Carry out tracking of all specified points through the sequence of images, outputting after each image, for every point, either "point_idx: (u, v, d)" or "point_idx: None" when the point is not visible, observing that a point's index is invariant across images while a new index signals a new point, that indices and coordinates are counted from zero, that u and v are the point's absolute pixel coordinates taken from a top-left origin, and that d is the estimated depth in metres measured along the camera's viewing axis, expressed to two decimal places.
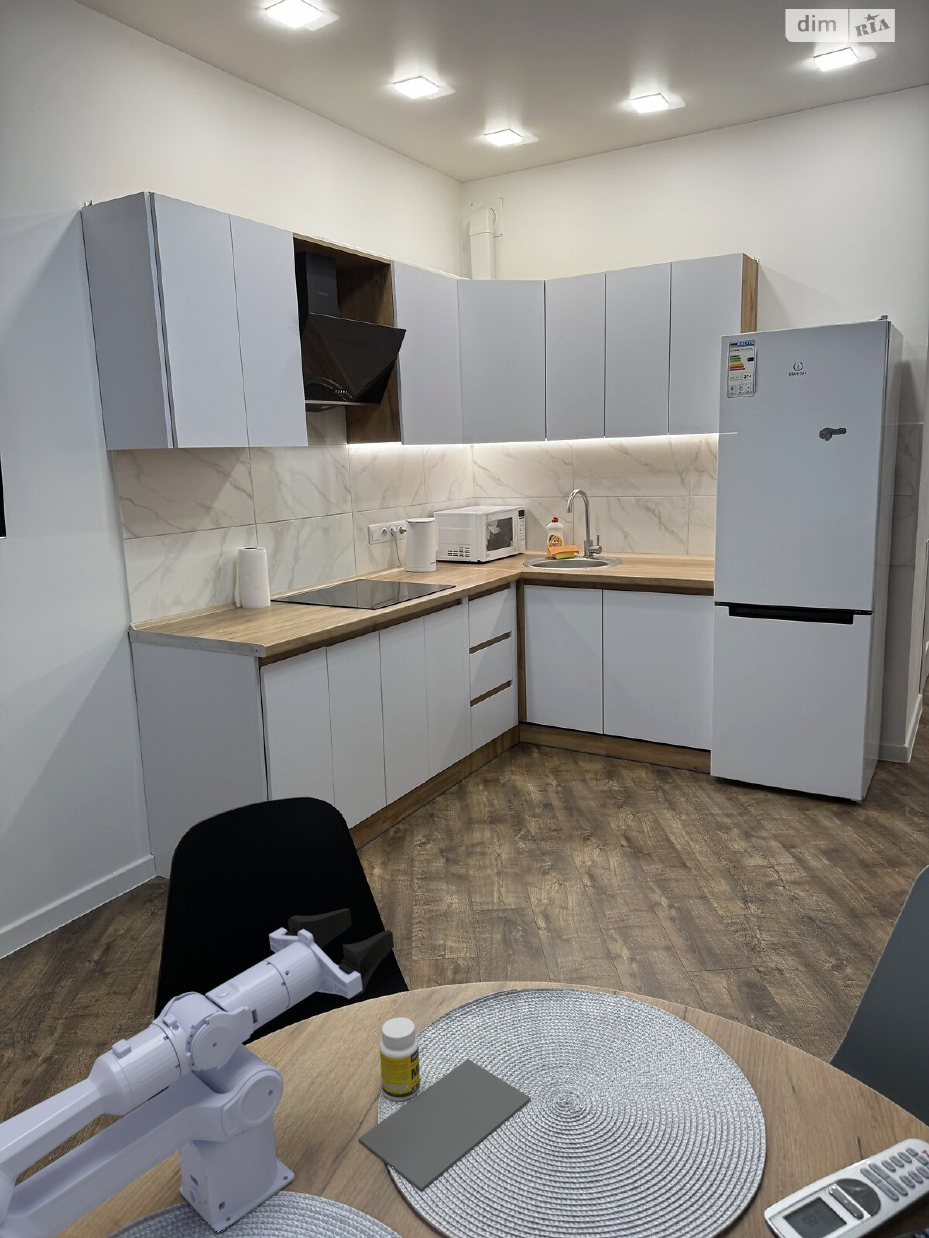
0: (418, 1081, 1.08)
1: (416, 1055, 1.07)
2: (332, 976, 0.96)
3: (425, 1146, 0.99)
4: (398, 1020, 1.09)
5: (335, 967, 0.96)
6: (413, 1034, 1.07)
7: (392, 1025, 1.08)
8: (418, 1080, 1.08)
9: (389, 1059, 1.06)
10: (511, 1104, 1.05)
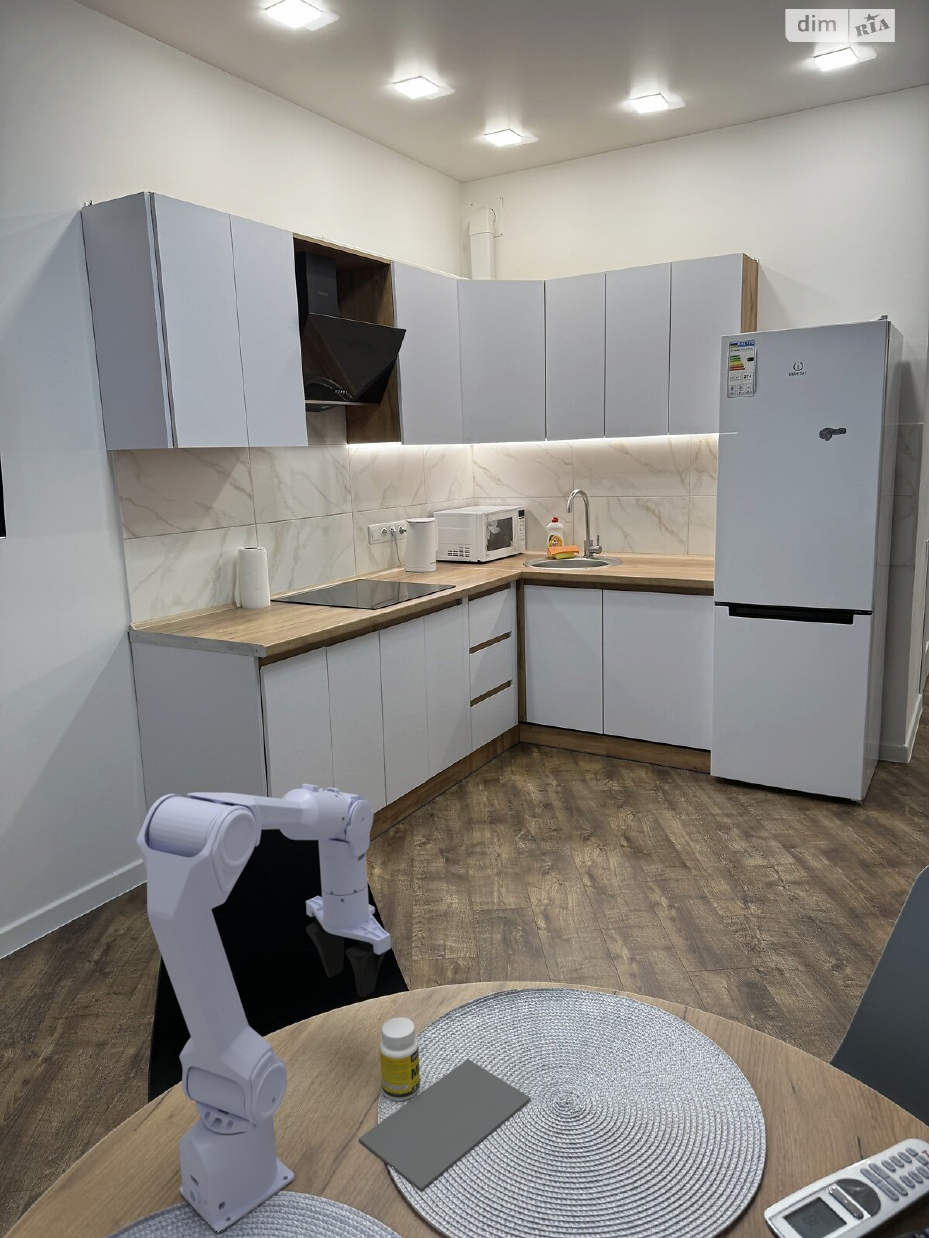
0: (418, 1081, 1.08)
1: (416, 1055, 1.07)
2: (374, 928, 1.09)
3: (425, 1146, 0.99)
4: (398, 1020, 1.09)
5: None
6: (413, 1034, 1.07)
7: (392, 1025, 1.08)
8: (418, 1080, 1.08)
9: (389, 1059, 1.06)
10: (511, 1104, 1.05)
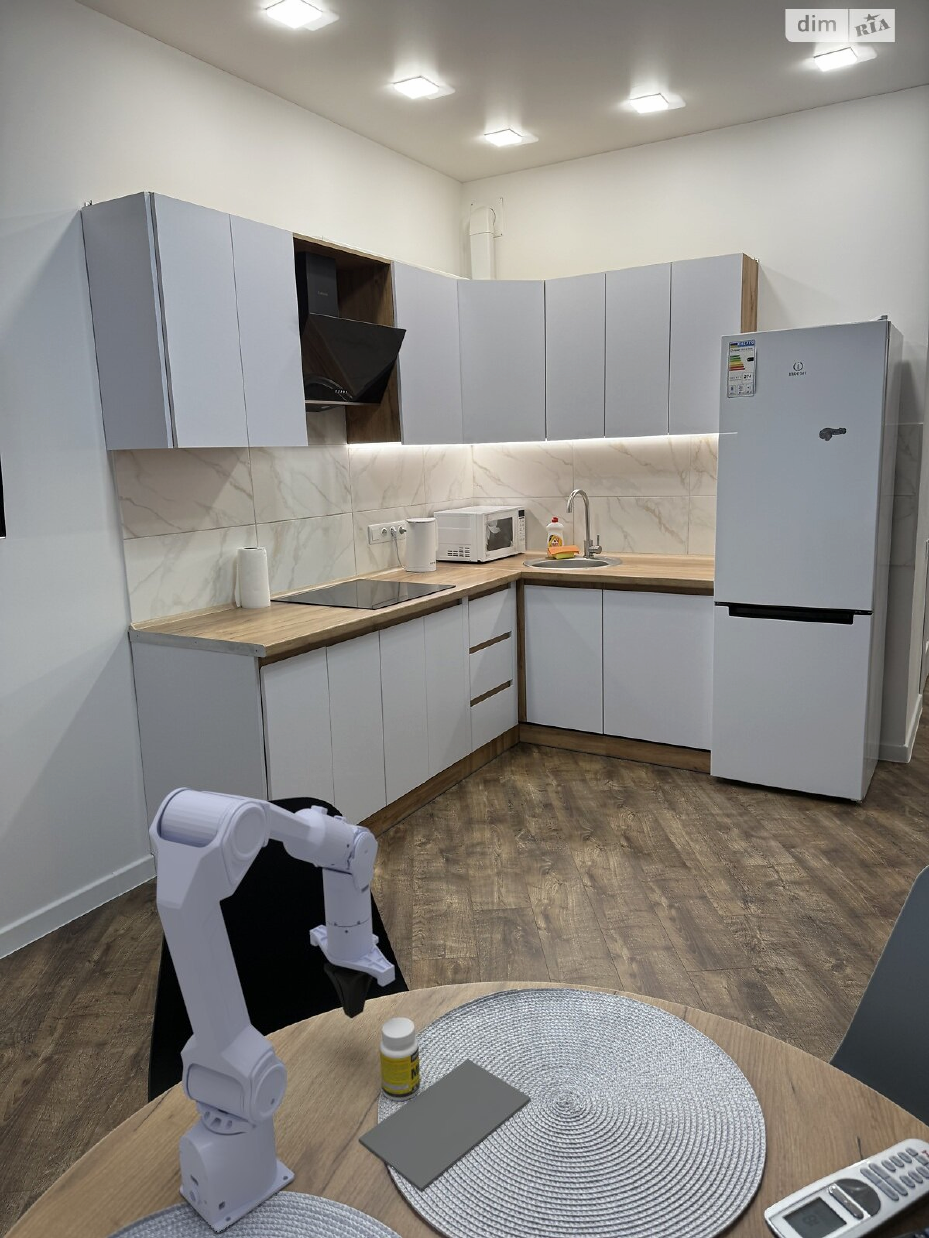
0: (418, 1081, 1.08)
1: (416, 1055, 1.07)
2: (378, 959, 1.09)
3: (425, 1146, 0.99)
4: (398, 1020, 1.09)
5: None
6: (413, 1034, 1.07)
7: (392, 1025, 1.08)
8: (418, 1080, 1.08)
9: (389, 1059, 1.06)
10: (511, 1104, 1.05)
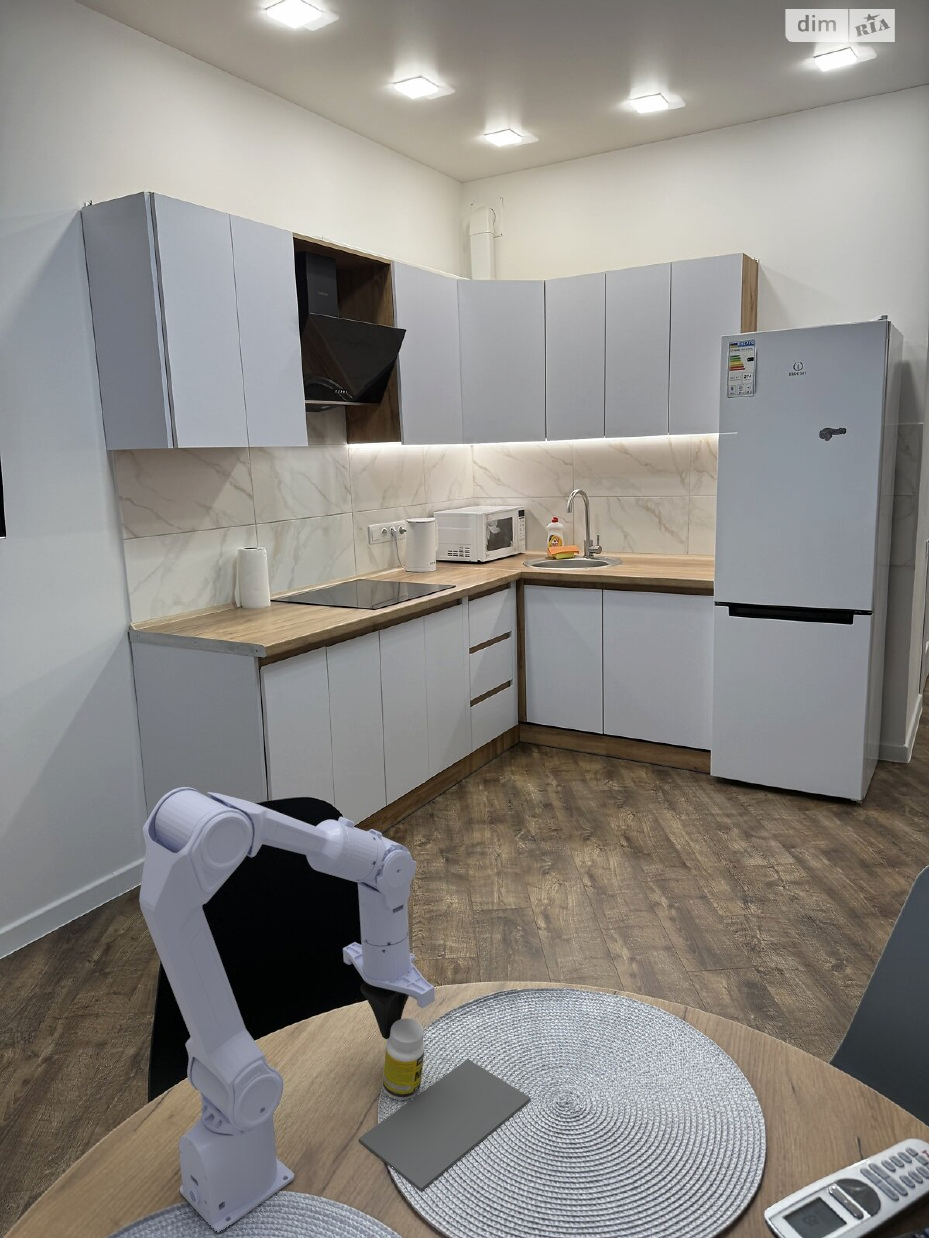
0: (420, 1082, 1.08)
1: (422, 1059, 1.07)
2: (416, 979, 1.05)
3: (425, 1146, 0.99)
4: (407, 1022, 1.08)
5: None
6: (421, 1039, 1.06)
7: (401, 1027, 1.07)
8: (420, 1081, 1.08)
9: (395, 1061, 1.05)
10: (511, 1104, 1.05)
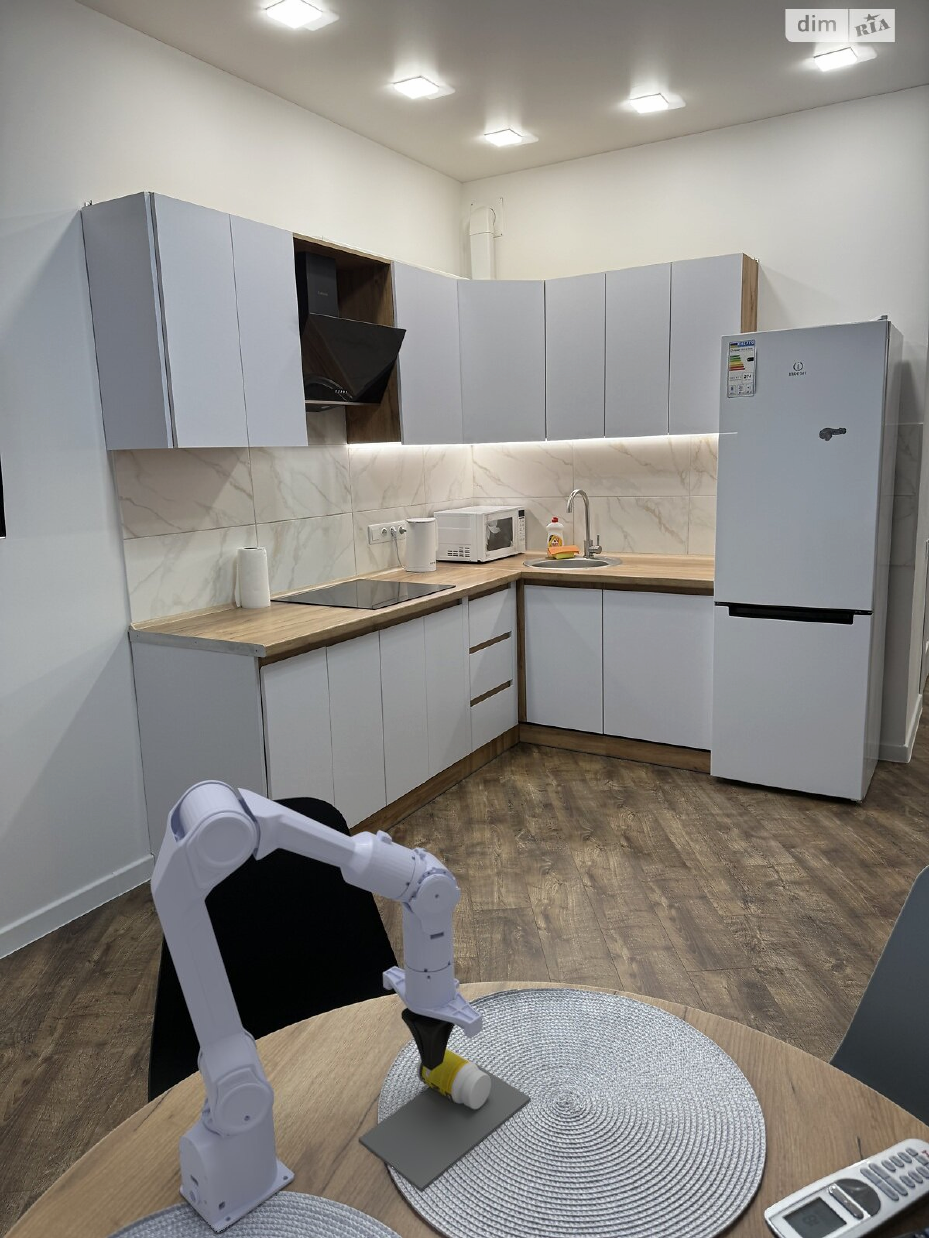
0: (427, 1084, 1.08)
1: (449, 1097, 1.05)
2: (463, 1007, 0.99)
3: (425, 1146, 0.99)
4: (486, 1091, 1.05)
5: None
6: (468, 1105, 1.04)
7: (484, 1085, 1.05)
8: (428, 1085, 1.08)
9: (455, 1070, 1.05)
10: (511, 1104, 1.05)
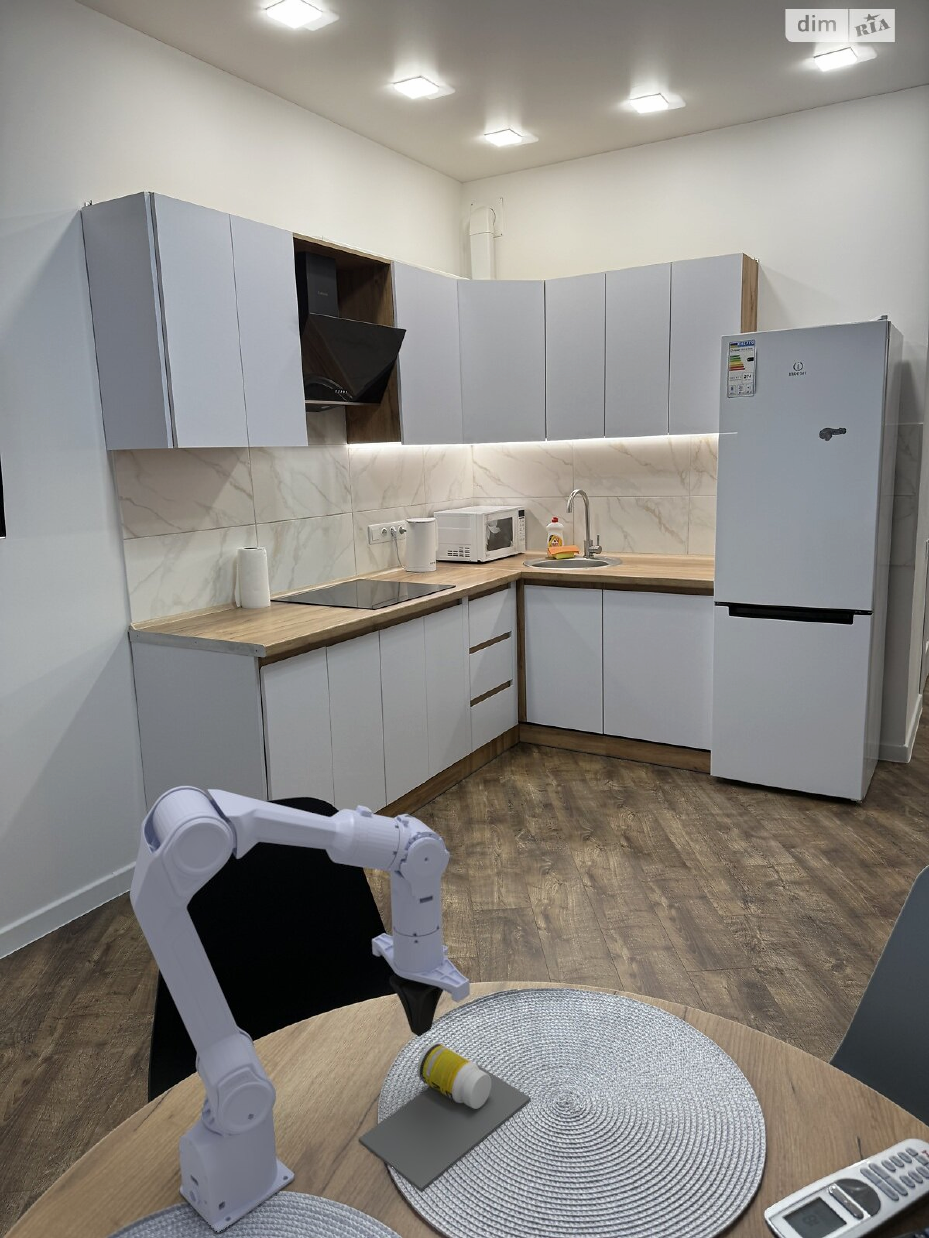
0: None
1: (449, 1096, 1.05)
2: (450, 972, 0.99)
3: (425, 1146, 0.99)
4: (486, 1091, 1.05)
5: None
6: (468, 1105, 1.04)
7: (484, 1085, 1.05)
8: (428, 1084, 1.08)
9: (456, 1069, 1.05)
10: (511, 1104, 1.05)
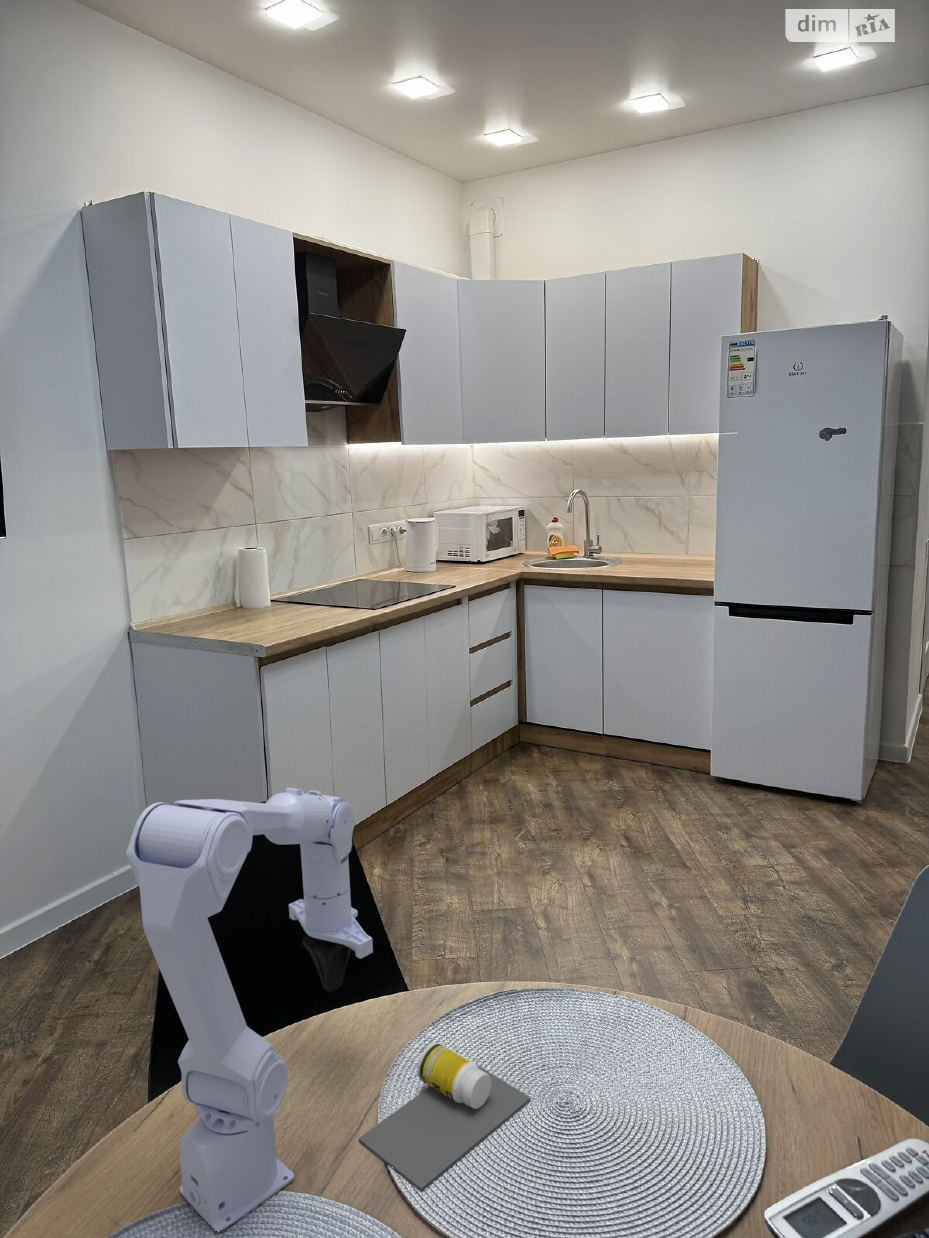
0: None
1: (449, 1097, 1.05)
2: (356, 931, 1.08)
3: (425, 1146, 0.99)
4: (486, 1091, 1.05)
5: None
6: (468, 1105, 1.04)
7: (484, 1084, 1.05)
8: (428, 1084, 1.08)
9: (456, 1069, 1.05)
10: (511, 1104, 1.05)
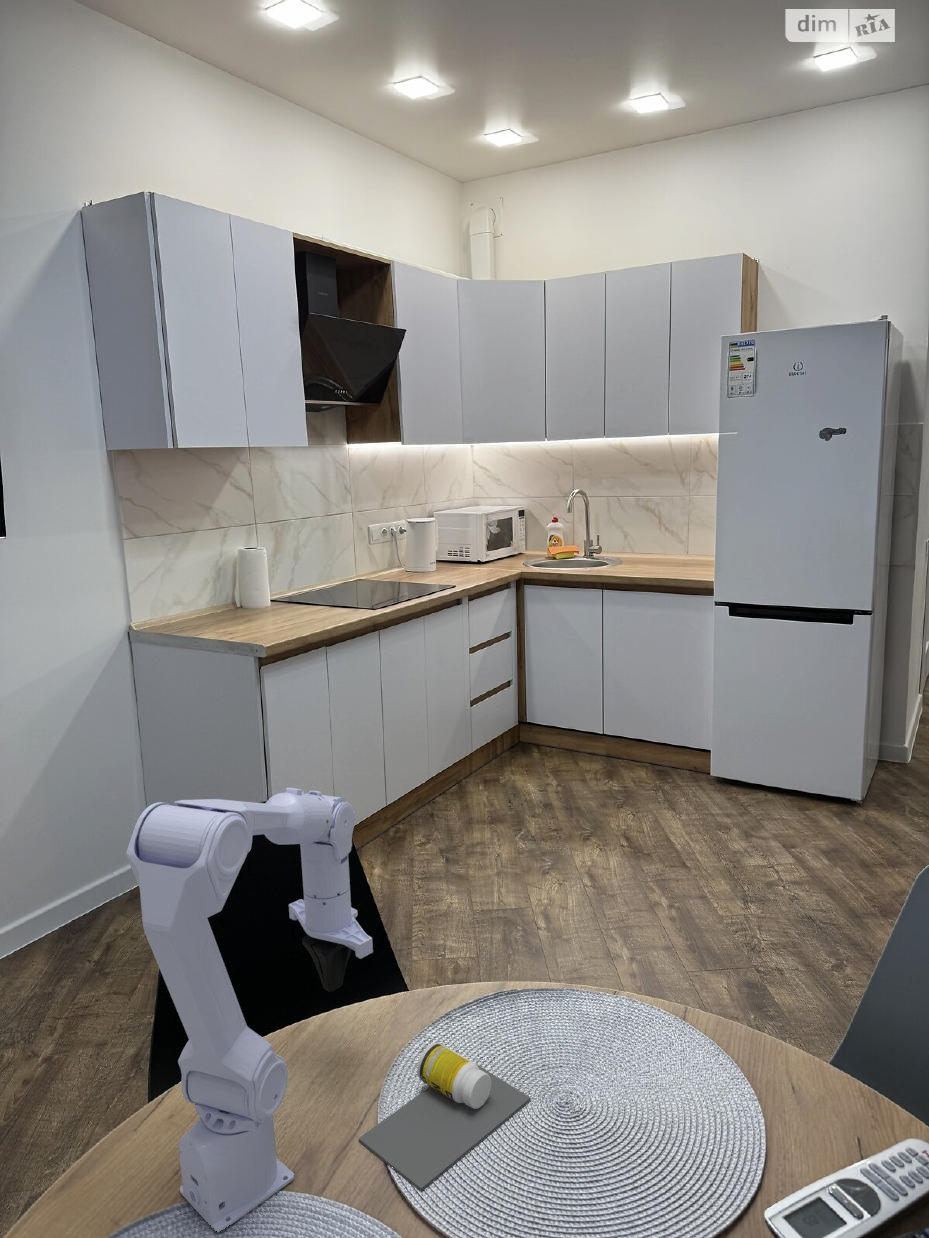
0: None
1: (449, 1097, 1.05)
2: (356, 931, 1.08)
3: (425, 1146, 0.99)
4: (486, 1091, 1.05)
5: None
6: (468, 1105, 1.04)
7: (484, 1085, 1.05)
8: (428, 1084, 1.08)
9: (456, 1069, 1.05)
10: (511, 1104, 1.05)
